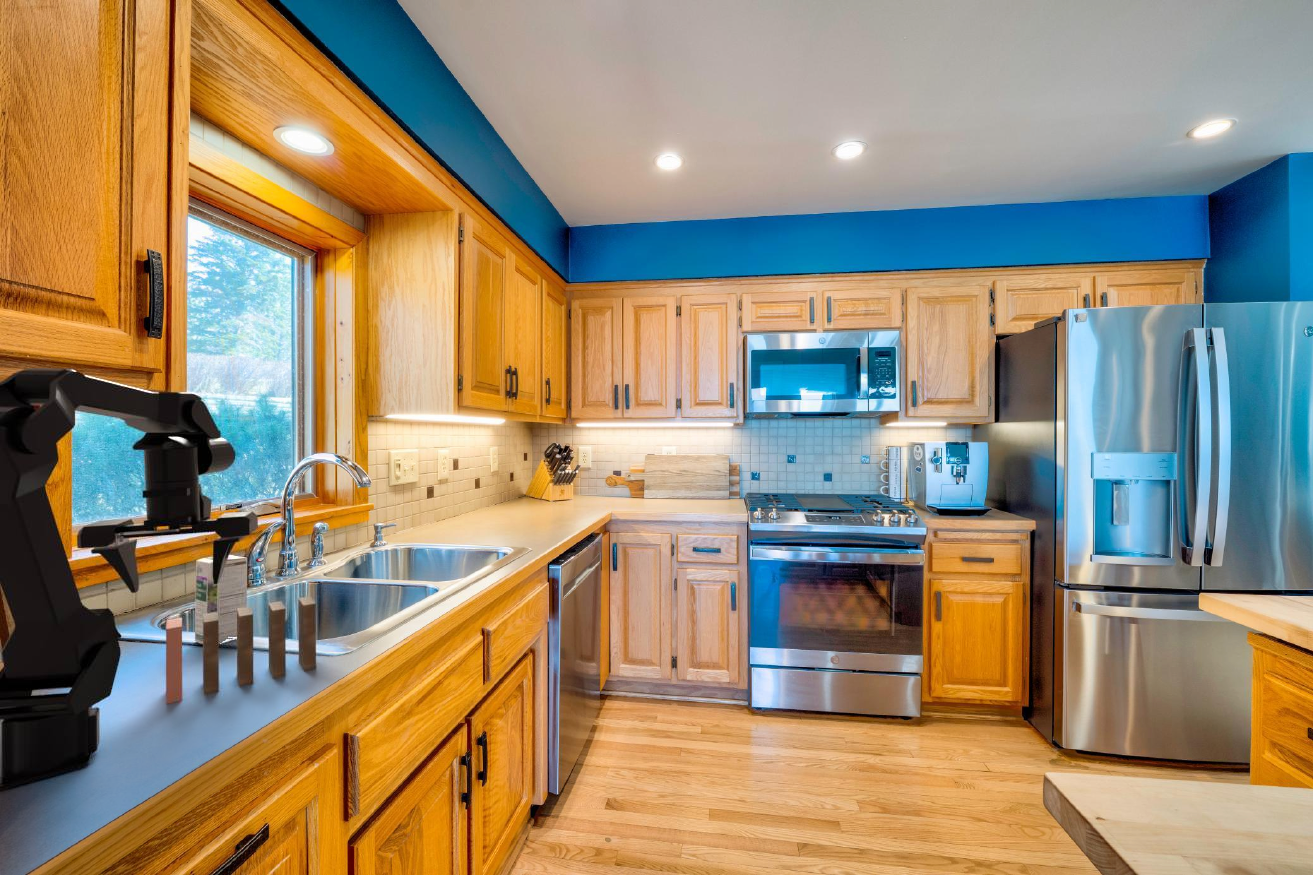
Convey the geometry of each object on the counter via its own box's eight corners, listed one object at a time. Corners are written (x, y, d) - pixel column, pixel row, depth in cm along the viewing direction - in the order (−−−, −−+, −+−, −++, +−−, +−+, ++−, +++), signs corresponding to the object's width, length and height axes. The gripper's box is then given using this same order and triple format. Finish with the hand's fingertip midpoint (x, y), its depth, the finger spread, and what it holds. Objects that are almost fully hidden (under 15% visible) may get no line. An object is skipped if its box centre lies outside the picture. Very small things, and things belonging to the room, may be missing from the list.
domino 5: (303, 671, 83) (303, 605, 83) (298, 661, 87) (298, 598, 87) (316, 668, 84) (315, 603, 84) (310, 658, 88) (310, 596, 88)
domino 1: (166, 704, 73) (165, 629, 73) (167, 691, 77) (166, 619, 77) (181, 700, 74) (181, 626, 74) (182, 687, 78) (182, 617, 78)
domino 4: (272, 678, 81) (272, 610, 81) (268, 668, 84) (268, 603, 84) (285, 675, 82) (285, 608, 82) (281, 665, 85) (280, 601, 85)
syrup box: (193, 642, 95) (193, 559, 95) (232, 632, 101) (232, 553, 101) (209, 648, 93) (209, 562, 93) (248, 637, 98) (248, 556, 98)
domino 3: (239, 686, 78) (239, 616, 78) (236, 675, 82) (236, 608, 82) (253, 683, 79) (253, 614, 79) (250, 672, 83) (250, 606, 83)
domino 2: (204, 695, 75) (203, 622, 76) (203, 683, 79) (202, 614, 79) (218, 691, 77) (218, 619, 77) (217, 679, 80) (216, 611, 80)
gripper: (264, 471, 89) (267, 565, 90) (113, 477, 81) (117, 580, 82) (246, 479, 79) (250, 585, 80) (72, 486, 71) (77, 604, 72)
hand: (176, 587), depth 79 cm, fingers open, 9 cm apart
